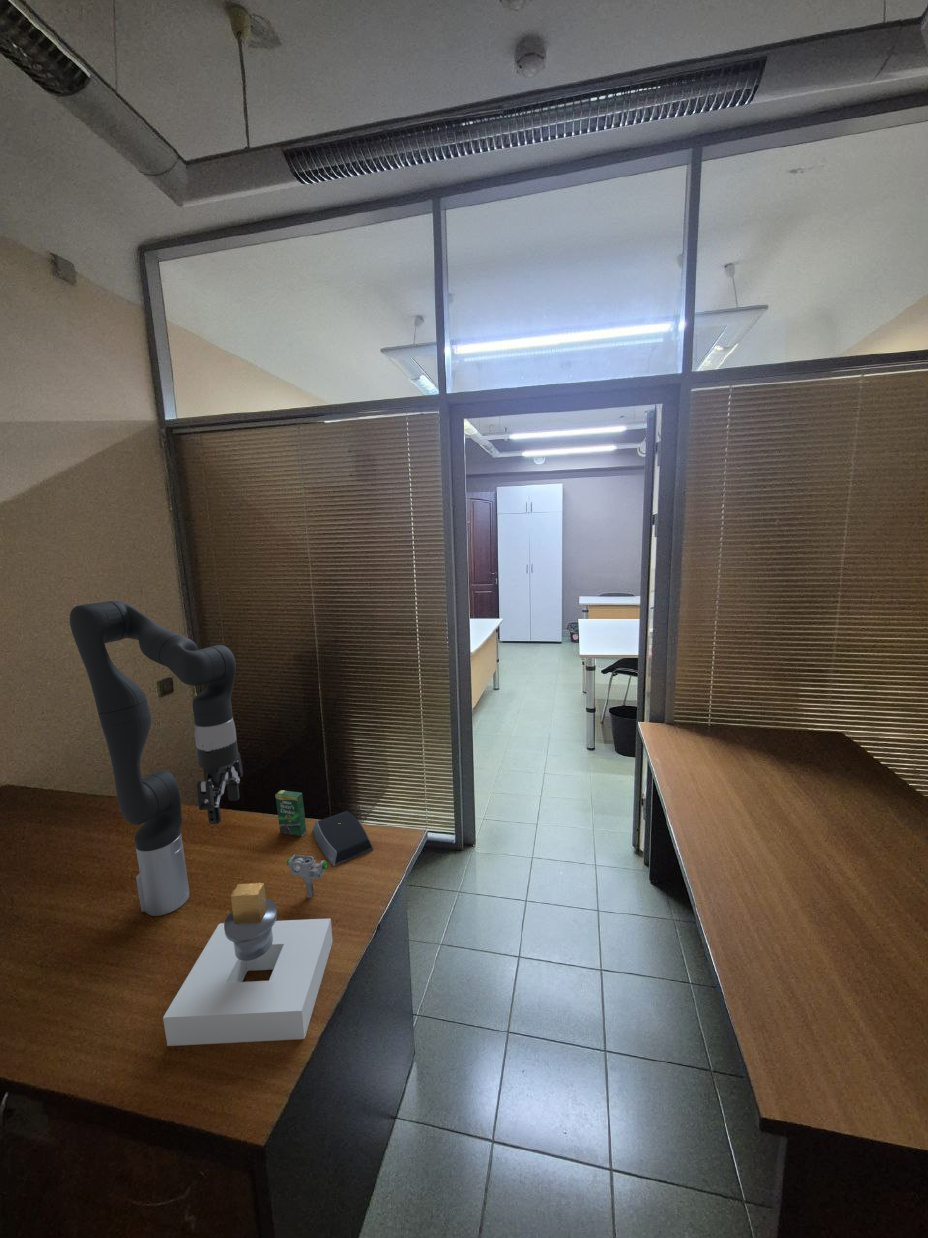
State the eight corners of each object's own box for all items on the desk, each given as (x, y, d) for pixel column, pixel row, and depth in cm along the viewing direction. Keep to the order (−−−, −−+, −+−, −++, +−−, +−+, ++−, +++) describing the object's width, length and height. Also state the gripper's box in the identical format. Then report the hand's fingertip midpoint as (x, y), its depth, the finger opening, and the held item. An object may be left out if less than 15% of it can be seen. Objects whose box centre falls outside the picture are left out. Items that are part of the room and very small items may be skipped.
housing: (167, 1046, 81) (162, 1017, 80) (222, 947, 101) (219, 923, 100) (304, 1039, 82) (301, 1010, 81) (332, 942, 102) (330, 918, 101)
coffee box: (278, 833, 140) (274, 793, 138) (284, 827, 143) (280, 788, 141) (301, 837, 138) (297, 797, 136) (306, 832, 141) (303, 792, 138)
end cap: (218, 967, 85) (210, 909, 83) (240, 926, 94) (234, 873, 92) (268, 965, 85) (262, 907, 83) (286, 924, 94) (280, 871, 92)
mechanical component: (326, 903, 113) (323, 866, 111) (288, 897, 115) (284, 861, 113) (332, 894, 116) (329, 858, 114) (295, 888, 118) (291, 853, 116)
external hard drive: (331, 869, 125) (330, 855, 124) (310, 833, 141) (309, 820, 140) (376, 850, 132) (375, 837, 132) (351, 818, 148) (350, 806, 147)
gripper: (215, 727, 104) (223, 793, 107) (178, 757, 90) (189, 832, 93) (249, 726, 104) (256, 792, 107) (217, 755, 90) (227, 830, 93)
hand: (225, 811), depth 100 cm, fingers open, 8 cm apart
